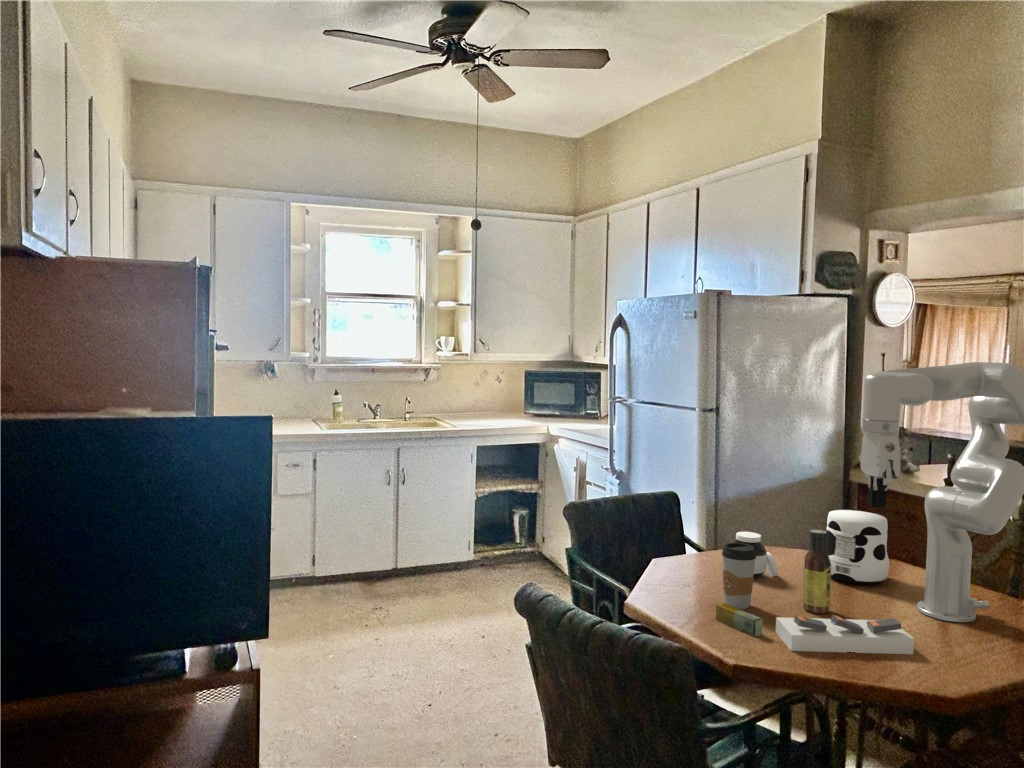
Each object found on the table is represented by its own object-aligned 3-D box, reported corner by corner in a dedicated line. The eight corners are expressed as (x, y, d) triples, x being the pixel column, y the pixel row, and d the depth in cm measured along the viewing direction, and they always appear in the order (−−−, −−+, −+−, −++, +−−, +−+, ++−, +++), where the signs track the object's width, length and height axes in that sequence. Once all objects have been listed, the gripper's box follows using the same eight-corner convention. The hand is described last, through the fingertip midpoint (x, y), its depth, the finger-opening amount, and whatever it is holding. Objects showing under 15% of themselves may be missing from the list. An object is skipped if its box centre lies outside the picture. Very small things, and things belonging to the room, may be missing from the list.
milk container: (875, 570, 213) (878, 510, 212) (898, 590, 196) (901, 525, 195) (814, 567, 216) (816, 507, 215) (831, 586, 199) (834, 521, 198)
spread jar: (724, 571, 210) (725, 531, 210) (752, 566, 216) (754, 527, 215) (756, 583, 200) (757, 542, 199) (784, 578, 205) (786, 537, 205)
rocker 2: (894, 623, 160) (893, 617, 160) (901, 628, 157) (900, 622, 157) (867, 627, 160) (866, 621, 160) (873, 632, 157) (873, 626, 157)
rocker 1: (820, 626, 160) (821, 620, 160) (825, 631, 157) (827, 625, 157) (793, 620, 160) (794, 614, 160) (798, 626, 157) (799, 620, 157)
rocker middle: (855, 629, 160) (858, 623, 160) (862, 634, 157) (864, 628, 157) (830, 619, 160) (832, 614, 160) (836, 624, 157) (838, 619, 157)
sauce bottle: (832, 616, 177) (835, 535, 176) (805, 613, 178) (808, 534, 177) (826, 606, 183) (829, 529, 182) (800, 604, 185) (803, 527, 183)
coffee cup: (712, 602, 185) (714, 544, 184) (737, 597, 189) (739, 540, 188) (736, 613, 178) (738, 553, 177) (761, 608, 181) (763, 549, 180)
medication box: (763, 635, 165) (763, 618, 164) (754, 637, 163) (755, 620, 163) (722, 618, 175) (723, 601, 175) (714, 620, 173) (715, 603, 173)
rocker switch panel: (890, 635, 165) (890, 619, 165) (913, 654, 155) (914, 637, 155) (775, 632, 166) (776, 616, 166) (791, 650, 156) (791, 634, 156)
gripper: (914, 432, 158) (910, 514, 159) (881, 424, 173) (877, 500, 174) (879, 431, 158) (875, 514, 159) (849, 423, 173) (846, 499, 174)
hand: (876, 506), depth 167 cm, fingers closed
